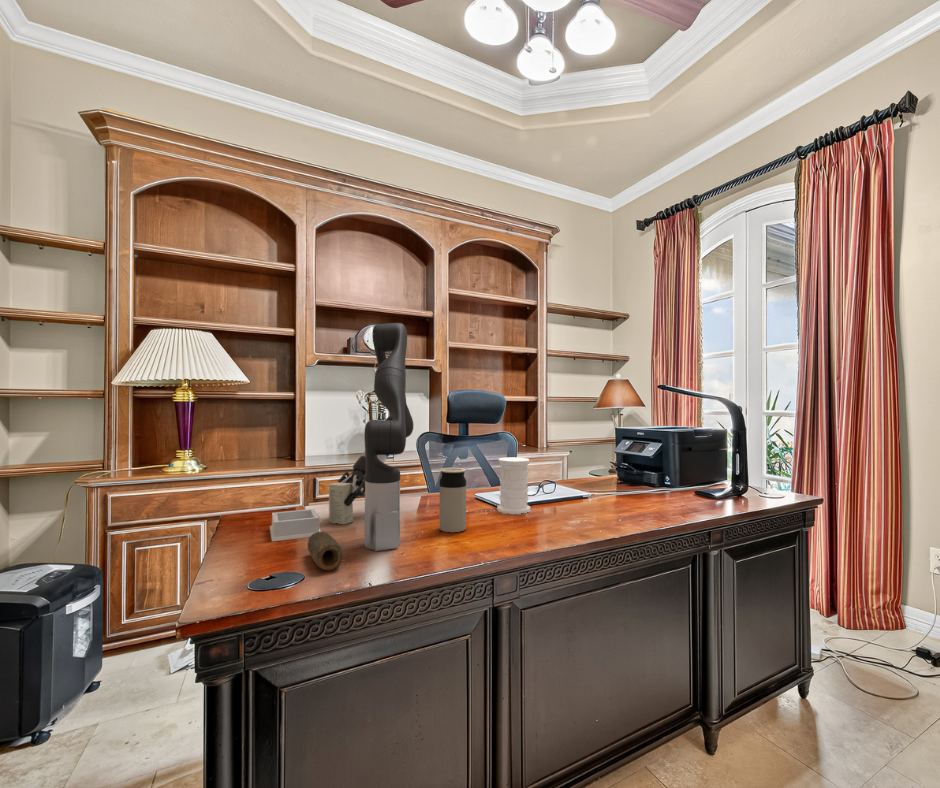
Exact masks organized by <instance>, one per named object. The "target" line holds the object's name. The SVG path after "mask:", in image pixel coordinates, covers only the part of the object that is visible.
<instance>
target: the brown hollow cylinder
mask: <svg viewBox="0 0 940 788" xmlns="http://www.w3.org/2000/svg"><path fill="white" fill-rule="evenodd" d="M307 550H308V552H309V554H310V557H311V558H312V560H313V562H314V563H315V565H316V566H317V567H318V568H320V569H321V570H323V571H332V570H335V569H336V568H337V567H338V566H339V565H340V564H341V562H342V559H343V556H344V555H343V554H344V553H343V552H344V551H343V547H342V546H341V544H339V542H338V541H337V540H336V539H335V538H334V537H332V536H331V535H330V534H329V533H327V532H326V531H321V532H316V533H314V534H313V535H311V536H310V537H308V541H307Z"/></svg>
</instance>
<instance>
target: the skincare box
mask: <svg viewBox="0 0 940 788" xmlns="http://www.w3.org/2000/svg"><path fill="white" fill-rule="evenodd" d="M352 489H353V488H352V483H342V482H341V483H339V482H338V481H336V482H332V483H329V484H328V517H329V521H328V522H331V523H330V524H336V523H338V524H337V525H347V524H349V523H352V522H353V521H354V519H353V517H354V514H353V512H354V511H353V510H354V509H353V508H354V507H353V503H354V501H353V502H352V503H351V504H350V506H346V505H345V504H344V500H345V499H346V498H347V497H348V495H349V494H350V493H352Z"/></svg>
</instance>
